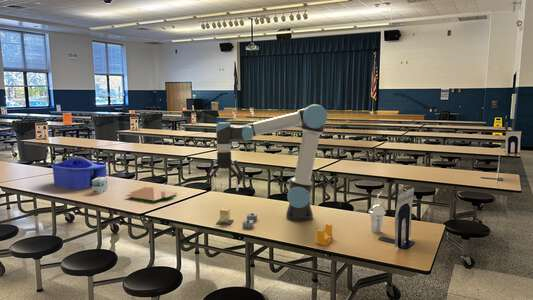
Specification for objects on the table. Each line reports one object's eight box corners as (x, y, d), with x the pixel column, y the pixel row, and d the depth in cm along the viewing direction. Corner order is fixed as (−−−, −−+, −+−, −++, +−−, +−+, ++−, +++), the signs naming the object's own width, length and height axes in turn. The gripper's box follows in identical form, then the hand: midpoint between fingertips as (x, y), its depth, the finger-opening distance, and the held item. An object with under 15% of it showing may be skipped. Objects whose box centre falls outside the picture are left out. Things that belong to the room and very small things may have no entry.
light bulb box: (101, 194, 266) (100, 179, 264) (92, 194, 266) (91, 179, 264) (108, 191, 276) (107, 176, 275) (99, 191, 276) (98, 176, 275)
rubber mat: (233, 220, 208) (233, 219, 208) (230, 225, 200) (230, 224, 200) (219, 219, 209) (219, 219, 209) (215, 224, 201) (215, 223, 201)
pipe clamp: (325, 245, 172) (325, 232, 171) (316, 243, 174) (317, 230, 174) (335, 237, 182) (335, 224, 181) (327, 236, 184) (327, 223, 184)
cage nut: (230, 220, 207) (230, 207, 206) (227, 223, 201) (227, 210, 201) (222, 219, 208) (222, 207, 207) (219, 223, 202) (219, 210, 201)
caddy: (80, 179, 319) (78, 152, 316) (116, 184, 298) (115, 155, 295) (43, 186, 292) (41, 156, 289) (80, 193, 271) (78, 161, 268)
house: (157, 205, 239) (157, 193, 238) (120, 199, 254) (120, 188, 252) (181, 197, 259) (180, 186, 258) (145, 192, 274) (145, 181, 273)
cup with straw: (364, 229, 193) (365, 191, 191) (378, 227, 197) (379, 190, 194) (375, 235, 185) (376, 195, 183) (389, 232, 189) (391, 193, 186)
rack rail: (257, 219, 210) (257, 212, 210) (252, 228, 194) (252, 221, 194) (248, 218, 211) (248, 212, 210) (242, 228, 195) (242, 221, 195)
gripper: (248, 150, 202) (249, 188, 204) (203, 150, 205) (204, 188, 208) (245, 152, 194) (246, 192, 197) (199, 152, 198) (200, 191, 200)
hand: (225, 190), depth 202 cm, fingers open, 13 cm apart
